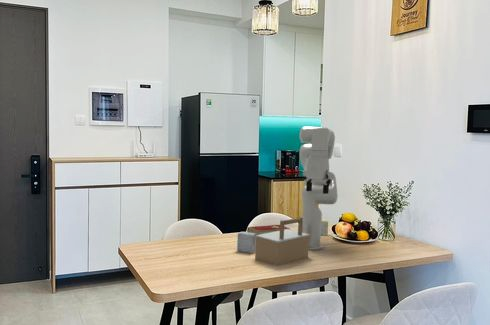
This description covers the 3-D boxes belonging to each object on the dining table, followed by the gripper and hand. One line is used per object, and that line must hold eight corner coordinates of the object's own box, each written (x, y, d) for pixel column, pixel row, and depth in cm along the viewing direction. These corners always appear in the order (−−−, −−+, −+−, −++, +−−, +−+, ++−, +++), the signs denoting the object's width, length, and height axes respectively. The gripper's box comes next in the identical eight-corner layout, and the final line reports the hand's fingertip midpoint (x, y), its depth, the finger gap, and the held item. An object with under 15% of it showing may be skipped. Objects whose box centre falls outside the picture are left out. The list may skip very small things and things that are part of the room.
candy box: (327, 235, 257) (328, 220, 257) (327, 236, 255) (328, 221, 255) (298, 233, 259) (299, 219, 258) (298, 234, 257) (299, 219, 256)
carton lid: (256, 236, 203) (257, 217, 202) (287, 230, 219) (288, 212, 218) (278, 242, 194) (279, 222, 193) (309, 235, 209) (310, 217, 209)
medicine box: (255, 251, 216) (256, 233, 216) (252, 253, 212) (252, 235, 212) (240, 248, 220) (241, 231, 219) (236, 251, 216) (237, 233, 215)
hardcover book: (247, 233, 254) (247, 226, 254) (278, 231, 264) (278, 224, 264) (258, 238, 244) (258, 230, 243) (290, 235, 254) (290, 228, 254)
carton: (255, 258, 204) (256, 236, 203) (286, 250, 219) (287, 230, 219) (277, 265, 195) (278, 242, 194) (308, 257, 210) (309, 235, 209)
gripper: (299, 153, 208) (297, 190, 209) (329, 155, 195) (326, 195, 196) (309, 153, 213) (308, 189, 214) (339, 155, 200) (337, 194, 201)
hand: (317, 192), depth 205 cm, fingers open, 9 cm apart
